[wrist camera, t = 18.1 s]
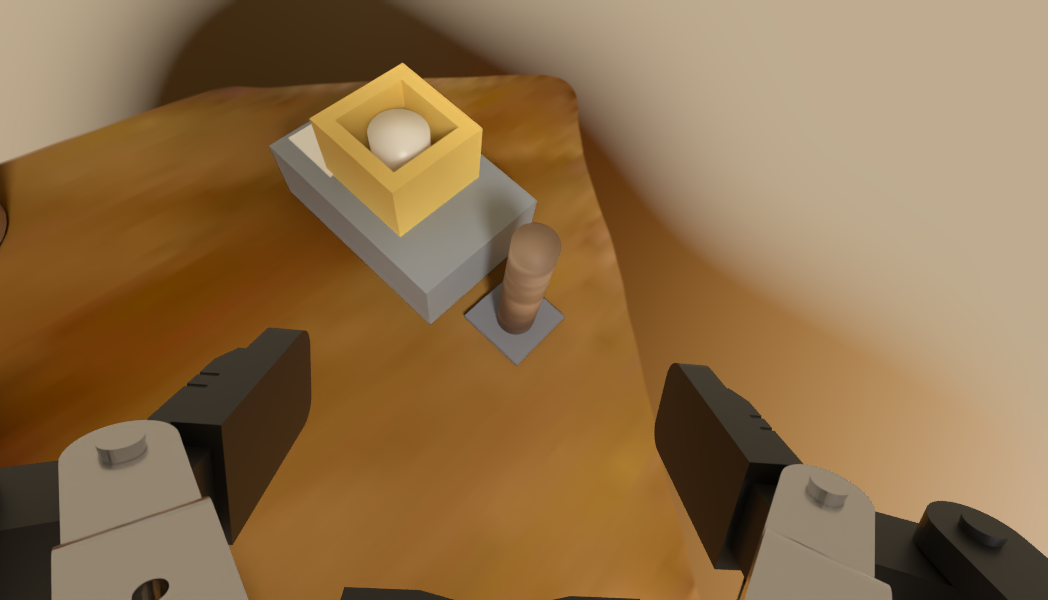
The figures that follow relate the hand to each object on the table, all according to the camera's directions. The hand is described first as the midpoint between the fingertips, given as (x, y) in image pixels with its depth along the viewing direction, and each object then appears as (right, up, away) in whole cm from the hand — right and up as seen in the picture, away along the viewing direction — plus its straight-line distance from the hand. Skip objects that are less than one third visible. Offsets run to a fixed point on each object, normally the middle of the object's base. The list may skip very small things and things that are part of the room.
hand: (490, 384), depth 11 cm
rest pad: (0, 0, +32) cm, 32 cm away
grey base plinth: (-10, +10, +35) cm, 37 cm away
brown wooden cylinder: (0, 0, +32) cm, 32 cm away
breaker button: (-9, +11, +32) cm, 35 cm away
